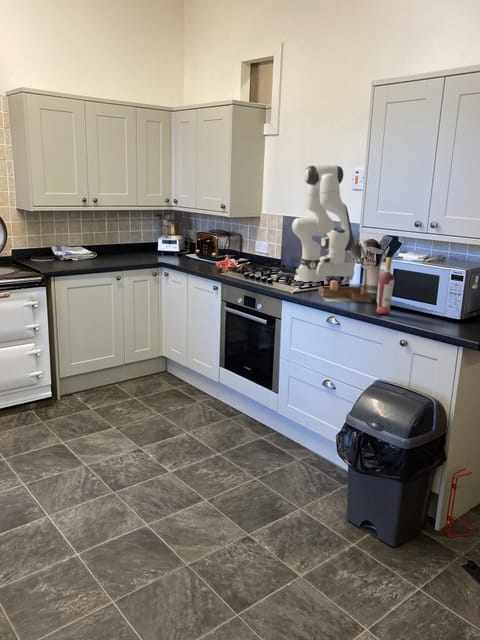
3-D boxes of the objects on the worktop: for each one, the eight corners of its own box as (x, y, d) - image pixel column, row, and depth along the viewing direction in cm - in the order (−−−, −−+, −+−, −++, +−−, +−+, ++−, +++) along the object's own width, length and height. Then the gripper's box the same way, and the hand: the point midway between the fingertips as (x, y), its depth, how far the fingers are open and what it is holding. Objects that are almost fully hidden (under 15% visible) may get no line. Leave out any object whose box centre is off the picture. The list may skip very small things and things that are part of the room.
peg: (328, 294, 296) (330, 280, 294) (335, 294, 296) (337, 280, 294) (330, 296, 292) (331, 282, 290) (337, 296, 292) (339, 282, 290)
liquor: (383, 316, 261) (390, 259, 253) (371, 313, 266) (378, 257, 258) (393, 314, 265) (400, 258, 257) (381, 311, 270) (388, 256, 262)
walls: (318, 293, 298) (319, 286, 297) (360, 293, 300) (361, 286, 299) (325, 301, 282) (326, 293, 281) (370, 301, 284) (371, 294, 283)
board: (318, 295, 299) (318, 293, 298) (362, 295, 301) (362, 293, 301) (325, 302, 282) (325, 301, 282) (371, 303, 285) (372, 301, 284)
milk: (377, 301, 290) (381, 260, 284) (388, 302, 288) (393, 261, 282) (375, 303, 284) (380, 262, 278) (387, 305, 282) (392, 263, 276)
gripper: (353, 258, 292) (351, 283, 296) (316, 257, 290) (315, 282, 294) (357, 260, 286) (354, 285, 290) (319, 259, 284) (317, 285, 288)
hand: (334, 284), depth 292 cm, fingers open, 8 cm apart
